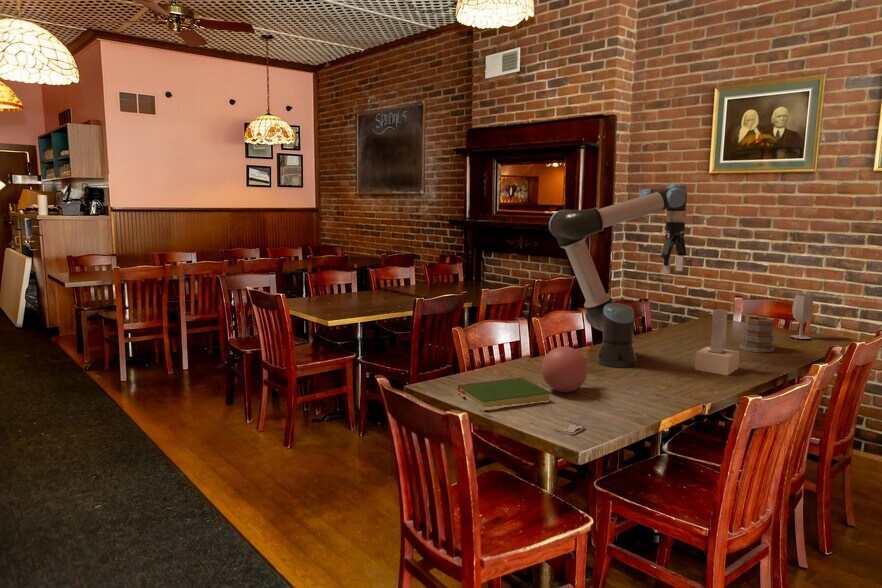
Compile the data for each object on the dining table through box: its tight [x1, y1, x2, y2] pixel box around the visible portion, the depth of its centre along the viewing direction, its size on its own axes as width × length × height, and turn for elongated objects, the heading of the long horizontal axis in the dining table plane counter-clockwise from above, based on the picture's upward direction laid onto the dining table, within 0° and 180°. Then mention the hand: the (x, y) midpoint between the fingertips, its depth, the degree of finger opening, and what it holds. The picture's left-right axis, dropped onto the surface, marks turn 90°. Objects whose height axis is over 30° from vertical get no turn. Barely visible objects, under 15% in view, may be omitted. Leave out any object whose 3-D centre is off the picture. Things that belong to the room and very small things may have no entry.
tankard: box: [739, 311, 775, 353], centre depth 275 cm, size 20×13×15 cm, turn 179°
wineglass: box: [790, 293, 815, 340], centre depth 293 cm, size 9×9×21 cm
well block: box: [694, 346, 740, 376], centre depth 239 cm, size 12×12×7 cm
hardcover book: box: [457, 377, 551, 407], centre depth 204 cm, size 25×19×4 cm
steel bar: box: [710, 308, 729, 354], centre depth 238 cm, size 4×4×20 cm
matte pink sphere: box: [541, 346, 591, 393], centre depth 212 cm, size 15×20×15 cm
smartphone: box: [562, 422, 585, 433], centre depth 179 cm, size 7×1×15 cm
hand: (672, 272), depth 262 cm, fingers open, 13 cm apart
